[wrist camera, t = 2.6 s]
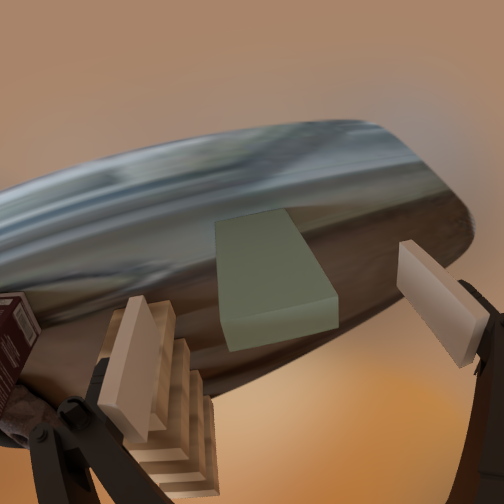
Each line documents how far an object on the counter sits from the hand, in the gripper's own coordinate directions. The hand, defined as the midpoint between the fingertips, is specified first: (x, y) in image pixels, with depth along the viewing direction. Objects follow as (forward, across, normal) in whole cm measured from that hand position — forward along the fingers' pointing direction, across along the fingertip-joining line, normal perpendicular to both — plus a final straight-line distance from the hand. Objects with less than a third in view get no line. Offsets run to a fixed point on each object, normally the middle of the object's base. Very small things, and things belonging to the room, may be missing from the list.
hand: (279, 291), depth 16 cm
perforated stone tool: (+8, +29, +18) cm, 35 cm away
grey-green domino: (+9, 0, 0) cm, 9 cm away
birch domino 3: (+8, +10, +14) cm, 19 cm away
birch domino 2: (+8, +10, +10) cm, 17 cm away
